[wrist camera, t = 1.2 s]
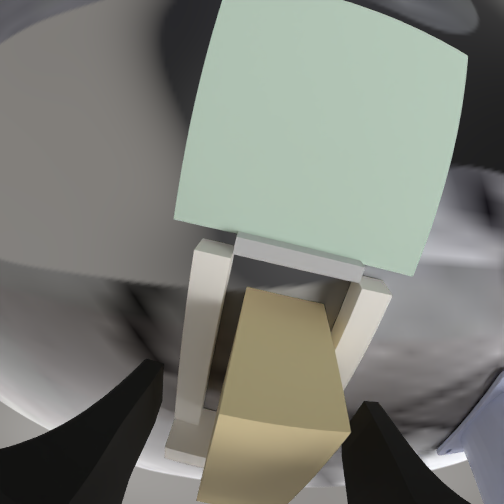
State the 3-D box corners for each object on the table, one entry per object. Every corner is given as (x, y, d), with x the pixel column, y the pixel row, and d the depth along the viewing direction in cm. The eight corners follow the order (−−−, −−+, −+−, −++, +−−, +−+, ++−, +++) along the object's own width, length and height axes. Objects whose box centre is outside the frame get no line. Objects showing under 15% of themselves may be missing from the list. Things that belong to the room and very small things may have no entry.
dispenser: (388, 266, 10) (418, 306, 8) (300, 438, 14) (302, 482, 12) (205, 221, 10) (179, 252, 8) (179, 415, 14) (164, 458, 12)
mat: (465, 57, 7) (468, 55, 7) (410, 274, 11) (412, 276, 10) (230, -19, 7) (229, -21, 7) (175, 217, 10) (173, 219, 10)
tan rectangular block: (323, 303, 11) (350, 432, 6) (281, 404, 13) (277, 513, 8) (246, 286, 11) (218, 413, 6) (221, 392, 13) (196, 500, 8)
